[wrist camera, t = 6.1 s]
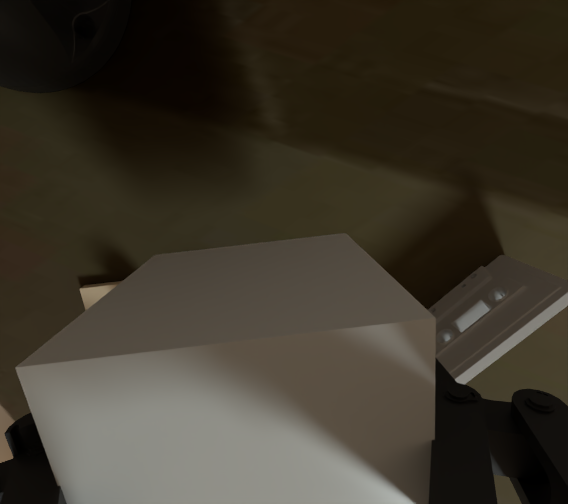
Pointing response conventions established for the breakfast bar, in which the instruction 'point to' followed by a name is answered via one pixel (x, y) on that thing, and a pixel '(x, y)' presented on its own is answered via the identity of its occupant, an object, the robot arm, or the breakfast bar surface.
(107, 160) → the breakfast bar surface
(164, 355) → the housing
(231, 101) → the breakfast bar surface
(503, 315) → the cassette
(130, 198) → the breakfast bar surface
